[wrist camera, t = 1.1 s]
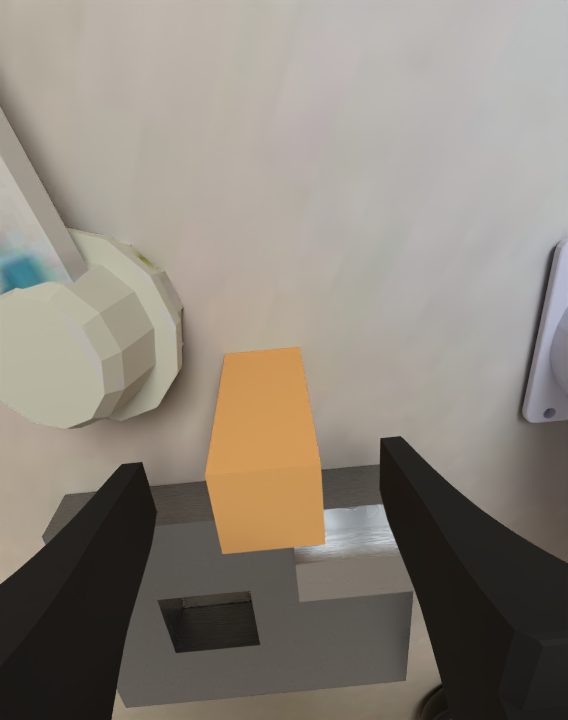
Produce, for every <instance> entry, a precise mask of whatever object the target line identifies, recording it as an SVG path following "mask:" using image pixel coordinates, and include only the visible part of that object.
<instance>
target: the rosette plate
mask: <svg viewBox="0 0 568 720" xmlns="http://www.w3.org/2000/svg"><path fill="white" fill-rule="evenodd" d="M321 474H322V492H323V509H324V526H325V543H326V544H322V545H312V546H302V547H292V548H281V549H271V550H261V551H251V552H240V553H230V554H222V550H221V545H220V541H219V536H218V532H217V527H216V523H215V518H214V514H213V509H212V505H211V500H210V496H209V491H208V487H207V482H206V481H205V482H194V483H184V484H173V485H163V486H153V487H150V490H151V493H152V497H153V500H154V503H155V506H156V510H157V516H156V523H155V530H154V536H153V541H152V546H151V550H150V554H149V557H148V561H147V564H146V568H145V571H144V575H143V578H142V581H141V585H140V588H139V592H138V595H137V599H136V602H135V605H134V609H133V612H132V616H131V619H130V623H129V627H128V631H127V635H126V640H125V645H124V651H123V656H122V661H121V666H120V672H119V677H118V683H117V690H118V692H119V694H120V696H121V699H122V701H123V703H124V705H125V707H126V708H130V707H140V706H150V705H161V704H171V703H181V702H192V701H202V700H212V699H223V698H233V697H243V696H254V695H264V694H274V693H285V692H295V691H305V690H315V689H326V688H336V687H346V686H357V685H367V684H377V683H388V682H398V681H406V673H407V661H408V649H409V638H410V626H411V614H412V602H413V591H415V590H414V587H413V584H412V582H411V579H410V577H409V574H408V572H407V569H406V567H405V564H404V562H403V559H402V557H401V554H400V552H399V549H398V546H397V544H396V541H395V539H394V536H393V534H392V531H391V528H390V526H389V523H388V521H387V517H386V513H385V510H384V506H383V502H382V498H381V494H380V490H379V481H380V465H371V466H360V467H350V468H340V469H329V470H321ZM95 494H96V492H90V493H80V494H70V495H65V496H64V498H63V500H62V501H61V503H60V505H59V507H58V509H57V511H56V512H55V514H54V516H53V518H52V520H51V521H50V523H49V525H48V527H47V529H46V531H45V532H44V534H43V536H42V538H43V540H44V542H45V544H48V543H49V542H50V541H51V540H52V539H53V538H54V537H55V536H56V535H57V534H58V533H59V532H60V531H61V530H62V529H63V528H64V527H65V526H66V525H67V524H68V522H69V521H70V520H71V519H72V518H73V517H74V516H75V515H76V514H77V513H78V512H79V511H80V510H81V509H82V508H83V507H84V506H85V505H86V503H87V502H88V501H89V500H90V499H91V498H92V497H93V496H94V495H95ZM245 591H250V593H251V598H252V602H245V603H234V604H224V605H214V606H203V607H193V608H183V606H182V603H181V600H180V598H183V597H193V596H203V595H214V594H224V593H235V592H245Z"/></svg>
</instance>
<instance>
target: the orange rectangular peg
mask: <svg viewBox="0 0 568 720" xmlns="http://www.w3.org/2000/svg"><path fill="white" fill-rule="evenodd" d="M205 478H206V482H207V487H208V491H209V496H210V500H211V505H212V509H213V514H214V518H215V523H216V527H217V532H218V536H219V541H220V545H221V550H222V554H230V553H240V552H251V551H261V550H271V549H281V548H292V547H302V546H312V545H322V544H326V543H325V526H324V509H323V492H322V474H321V462H320V456H319V451H318V445H317V440H316V434H315V429H314V423H313V418H312V412H311V407H310V401H309V396H308V390H307V385H306V379H305V374H304V368H303V363H302V357H301V352H300V347H293V348H283V349H273V350H262V351H252V352H242V353H231V354H225V358H224V364H223V370H222V376H221V382H220V388H219V394H218V400H217V406H216V412H215V418H214V424H213V430H212V436H211V443H210V449H209V455H208V461H207V467H206V473H205Z"/></svg>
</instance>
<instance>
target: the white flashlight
mask: <svg viewBox="0 0 568 720" xmlns="http://www.w3.org/2000/svg"><path fill="white" fill-rule="evenodd" d="M182 308H183V306H182V304H181V302H180V300H179V298H178V296H177V294H176V292H175V290H174V288H173V286H172V284H171V282H170V280H169V278H168V276H167V274H166V272H165V271H164V272H161V271H160V270H159V269H158V268H157V267H155V266H154V265H153V264H152V263H151V262H149V261H148V260H147V259H146V258H145V257H143V256H142V255H141V254H140V253H138V252H137V251H136V250H135V249H134V248H132V247H131V245H129V244H124V243H120V242H118V241H117V240H116V239H115V238H113V237H108V236H103V235H99V234H94V233H89V232H85V231H80V230H76V229H71V228H66V227H65V225H64V224H63V222H62V220H61V218H60V216H59V214H58V213H57V211H56V209H55V207H54V205H53V203H52V201H51V200H50V198H49V196H48V194H47V192H46V190H45V189H44V187H43V185H42V183H41V181H40V179H39V177H38V176H37V174H36V172H35V170H34V168H33V166H32V165H31V163H30V161H29V159H28V157H27V155H26V153H25V152H24V150H23V148H22V146H21V144H20V142H19V141H18V139H17V137H16V135H15V133H14V131H13V129H12V128H11V126H10V124H9V122H8V120H7V118H6V117H5V115H4V113H3V111H2V109H1V107H0V400H1V401H2V402H3V403H4V404H6V405H7V406H9V407H10V408H12V409H13V410H15V411H16V412H17V413H19V414H20V415H22V416H23V417H25V418H26V419H28V420H29V421H31V422H32V423H35V424H40V425H46V426H51V427H56V428H62V429H72V428H81V427H84V426H86V425H89V424H91V423H94V422H96V421H99V420H101V419H104V418H106V419H111V420H116V421H124V420H126V419H129V418H131V417H134V416H136V415H139V414H141V413H144V412H147V411H149V410H152V409H154V408H157V407H158V405H159V404H160V402H161V401H162V399H163V397H164V396H165V394H166V392H167V391H168V389H169V387H170V386H171V384H172V382H173V381H174V379H175V377H176V376H177V374H178V372H179V371H180V369H181V367H182V346H183V345H184V343H183V342H182V314H181V309H182Z"/></svg>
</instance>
